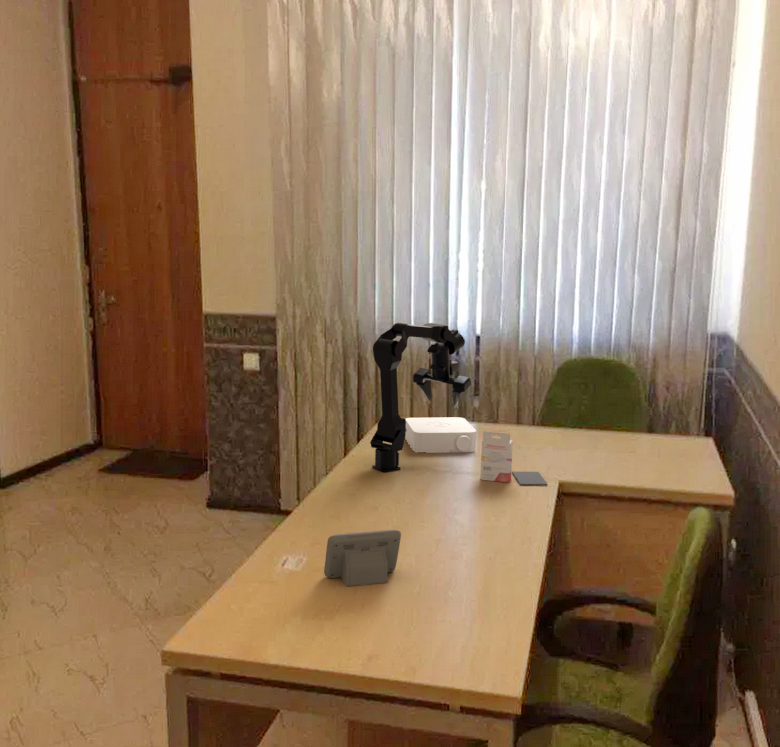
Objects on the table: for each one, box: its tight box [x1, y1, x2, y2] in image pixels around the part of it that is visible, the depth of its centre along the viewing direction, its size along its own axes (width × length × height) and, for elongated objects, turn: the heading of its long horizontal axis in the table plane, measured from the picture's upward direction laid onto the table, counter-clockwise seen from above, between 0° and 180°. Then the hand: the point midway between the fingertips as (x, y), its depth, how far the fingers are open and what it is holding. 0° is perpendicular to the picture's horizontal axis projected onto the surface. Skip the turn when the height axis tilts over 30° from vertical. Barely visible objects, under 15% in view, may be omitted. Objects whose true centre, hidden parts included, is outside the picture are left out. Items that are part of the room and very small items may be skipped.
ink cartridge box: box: [480, 430, 514, 483], centre depth 258 cm, size 9×5×15 cm, turn 73°
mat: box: [511, 470, 548, 486], centre depth 260 cm, size 8×12×1 cm, turn 3°
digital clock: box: [323, 529, 402, 588], centre depth 187 cm, size 16×9×11 cm, turn 95°
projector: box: [404, 416, 477, 454], centre depth 296 cm, size 21×22×7 cm
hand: (442, 402), depth 290 cm, fingers open, 9 cm apart
